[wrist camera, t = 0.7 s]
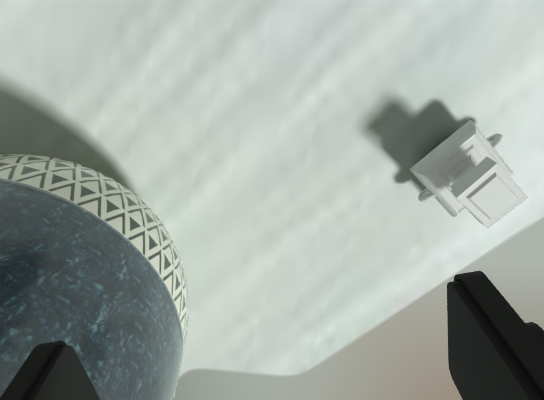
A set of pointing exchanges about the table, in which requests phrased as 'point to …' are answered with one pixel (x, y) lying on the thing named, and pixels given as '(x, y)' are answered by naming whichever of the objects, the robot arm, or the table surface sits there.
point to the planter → (89, 278)
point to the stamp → (469, 176)
